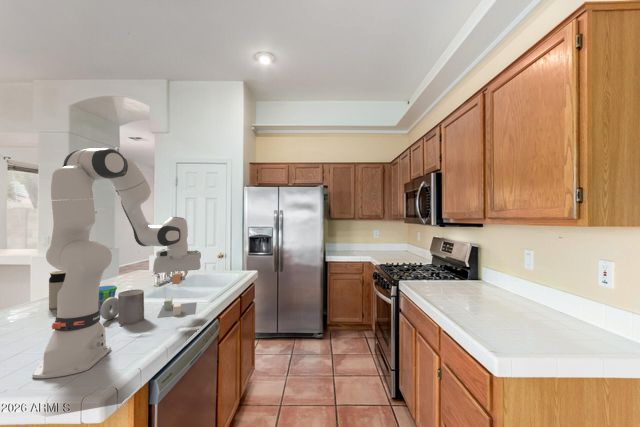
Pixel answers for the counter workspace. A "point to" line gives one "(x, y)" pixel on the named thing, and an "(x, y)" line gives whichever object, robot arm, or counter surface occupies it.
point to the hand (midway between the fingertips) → (177, 280)
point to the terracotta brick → (177, 278)
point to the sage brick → (168, 303)
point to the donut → (106, 306)
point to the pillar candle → (130, 307)
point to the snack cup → (106, 294)
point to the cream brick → (177, 309)
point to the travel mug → (55, 287)
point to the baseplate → (185, 310)
